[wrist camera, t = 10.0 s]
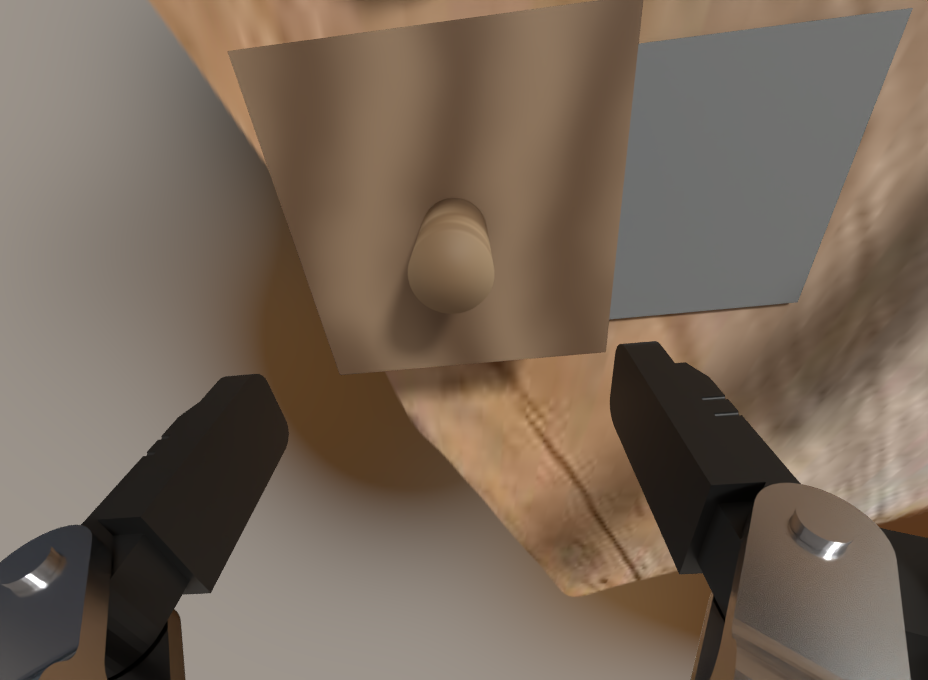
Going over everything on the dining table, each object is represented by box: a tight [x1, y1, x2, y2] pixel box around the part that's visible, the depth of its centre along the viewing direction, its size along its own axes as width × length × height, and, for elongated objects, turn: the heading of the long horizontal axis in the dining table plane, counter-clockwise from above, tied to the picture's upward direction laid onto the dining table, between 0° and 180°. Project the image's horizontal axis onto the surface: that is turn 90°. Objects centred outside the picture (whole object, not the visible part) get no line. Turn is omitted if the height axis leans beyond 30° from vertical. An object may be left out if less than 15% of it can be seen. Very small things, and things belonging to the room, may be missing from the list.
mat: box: [609, 8, 913, 319], centre depth 27 cm, size 18×18×1 cm
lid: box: [228, 0, 643, 375], centre depth 17 cm, size 16×16×7 cm
